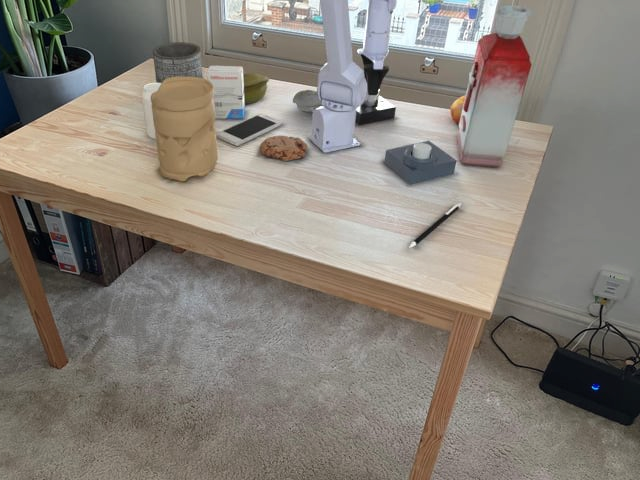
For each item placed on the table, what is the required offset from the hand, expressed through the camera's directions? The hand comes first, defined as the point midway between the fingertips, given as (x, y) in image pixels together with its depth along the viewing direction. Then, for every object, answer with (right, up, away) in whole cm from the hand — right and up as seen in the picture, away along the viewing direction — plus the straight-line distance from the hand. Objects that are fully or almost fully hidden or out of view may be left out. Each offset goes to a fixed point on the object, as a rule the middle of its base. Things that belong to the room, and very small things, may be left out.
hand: (370, 88), depth 140 cm
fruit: (+23, -9, 0) cm, 25 cm away
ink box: (-35, -5, +5) cm, 36 cm away
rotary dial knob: (0, -3, +2) cm, 4 cm away
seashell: (-14, -4, +6) cm, 16 cm away
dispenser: (+7, -23, -16) cm, 29 cm away
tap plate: (0, -5, +4) cm, 7 cm away
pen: (+5, -38, -33) cm, 50 cm away
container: (-43, -23, -15) cm, 51 cm away
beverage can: (-51, -13, -3) cm, 53 cm away
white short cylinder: (+6, -21, -22) cm, 31 cm away
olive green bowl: (-31, +1, +13) cm, 33 cm away
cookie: (-22, -18, -10) cm, 30 cm away
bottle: (+22, -18, -11) cm, 31 cm away
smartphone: (-30, -11, -2) cm, 32 cm away
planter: (-48, +2, +14) cm, 50 cm away
